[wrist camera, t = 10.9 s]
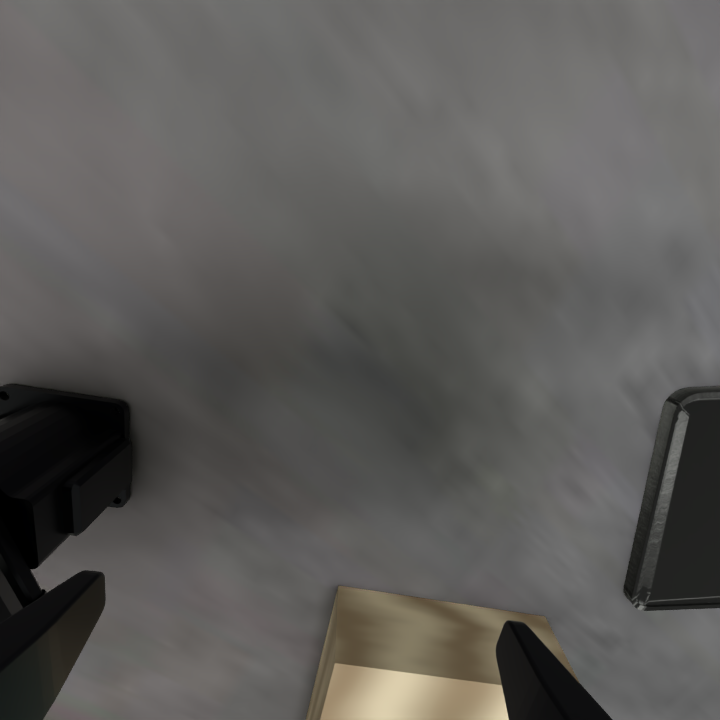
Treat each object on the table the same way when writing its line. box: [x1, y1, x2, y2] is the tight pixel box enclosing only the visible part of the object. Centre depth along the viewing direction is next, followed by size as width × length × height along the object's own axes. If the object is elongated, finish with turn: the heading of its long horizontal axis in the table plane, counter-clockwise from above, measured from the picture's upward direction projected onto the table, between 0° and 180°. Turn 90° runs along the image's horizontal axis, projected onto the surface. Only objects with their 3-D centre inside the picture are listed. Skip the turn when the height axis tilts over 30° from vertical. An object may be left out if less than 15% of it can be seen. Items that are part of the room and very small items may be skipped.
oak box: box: [306, 586, 579, 720], centre depth 24 cm, size 14×14×5 cm
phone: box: [624, 386, 720, 611], centre depth 22 cm, size 8×1×15 cm
